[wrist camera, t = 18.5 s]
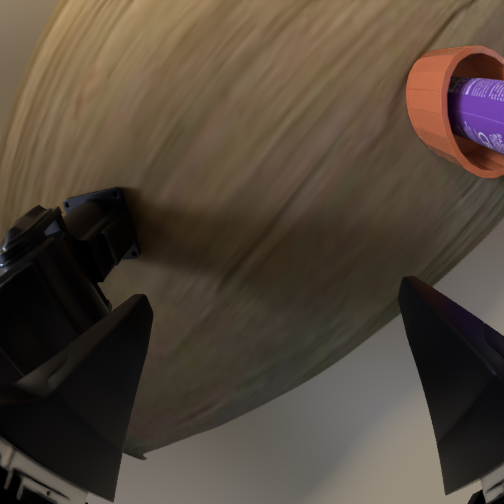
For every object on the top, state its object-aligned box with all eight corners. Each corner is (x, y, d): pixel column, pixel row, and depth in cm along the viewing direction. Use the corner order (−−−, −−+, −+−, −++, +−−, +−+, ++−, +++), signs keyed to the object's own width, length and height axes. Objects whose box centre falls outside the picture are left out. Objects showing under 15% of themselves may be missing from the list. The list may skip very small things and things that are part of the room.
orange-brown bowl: (405, 156, 19) (438, 176, 14) (400, 40, 14) (434, 31, 10) (488, 161, 18) (524, 181, 13) (488, 62, 13) (527, 65, 9)
